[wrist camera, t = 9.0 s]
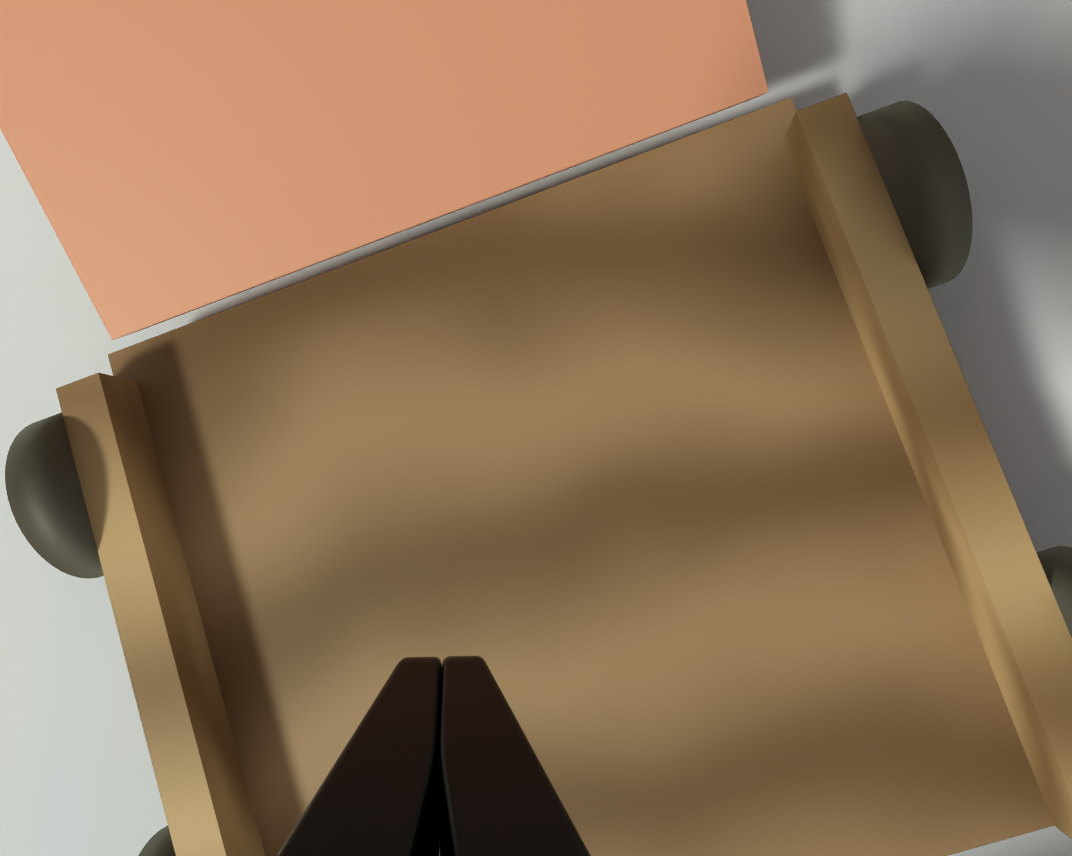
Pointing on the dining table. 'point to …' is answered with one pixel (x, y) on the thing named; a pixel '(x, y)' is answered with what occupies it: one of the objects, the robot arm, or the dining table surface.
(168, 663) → the cart bed
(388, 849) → the robot arm
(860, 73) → the dining table surface
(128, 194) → the panel
